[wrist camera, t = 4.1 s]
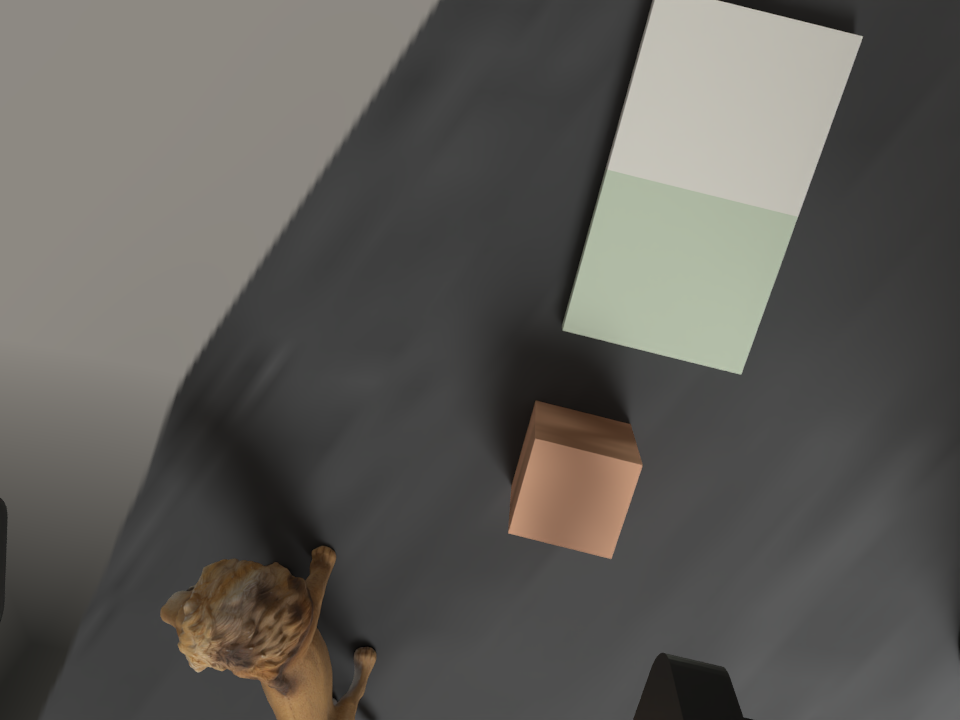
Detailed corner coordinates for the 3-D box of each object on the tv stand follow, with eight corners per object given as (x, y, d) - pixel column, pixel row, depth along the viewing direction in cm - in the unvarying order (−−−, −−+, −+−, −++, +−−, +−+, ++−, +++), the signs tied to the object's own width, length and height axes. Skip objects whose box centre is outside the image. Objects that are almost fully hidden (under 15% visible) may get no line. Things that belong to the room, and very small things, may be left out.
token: (630, 423, 37) (642, 465, 32) (603, 508, 38) (611, 558, 34) (535, 399, 36) (535, 438, 32) (511, 485, 38) (508, 533, 34)
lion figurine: (209, 517, 40) (118, 630, 31) (302, 482, 39) (235, 589, 30) (339, 742, 43) (290, 898, 35) (427, 715, 42) (399, 869, 34)
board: (854, 38, 31) (863, 36, 30) (736, 368, 35) (741, 374, 34) (655, -12, 31) (658, -15, 30) (562, 325, 35) (562, 330, 34)
